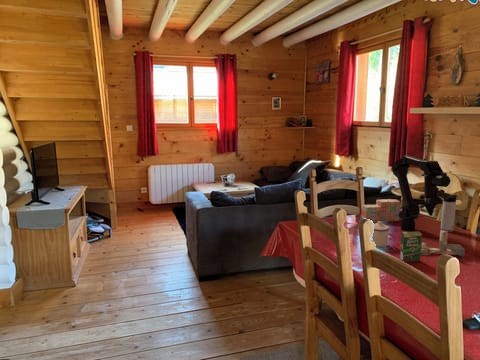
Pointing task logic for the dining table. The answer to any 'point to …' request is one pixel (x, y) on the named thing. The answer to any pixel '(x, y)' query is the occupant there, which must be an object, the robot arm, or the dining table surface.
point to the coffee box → (410, 246)
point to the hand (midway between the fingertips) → (430, 215)
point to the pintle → (424, 248)
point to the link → (440, 246)
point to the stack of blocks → (382, 210)
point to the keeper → (457, 249)
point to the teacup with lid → (380, 234)
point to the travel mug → (448, 213)
